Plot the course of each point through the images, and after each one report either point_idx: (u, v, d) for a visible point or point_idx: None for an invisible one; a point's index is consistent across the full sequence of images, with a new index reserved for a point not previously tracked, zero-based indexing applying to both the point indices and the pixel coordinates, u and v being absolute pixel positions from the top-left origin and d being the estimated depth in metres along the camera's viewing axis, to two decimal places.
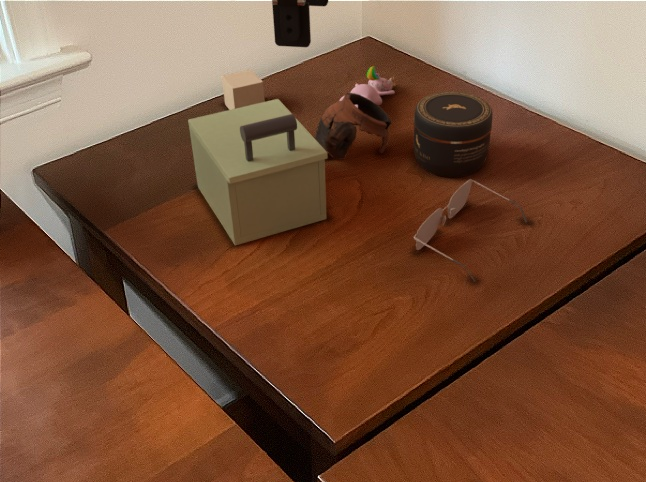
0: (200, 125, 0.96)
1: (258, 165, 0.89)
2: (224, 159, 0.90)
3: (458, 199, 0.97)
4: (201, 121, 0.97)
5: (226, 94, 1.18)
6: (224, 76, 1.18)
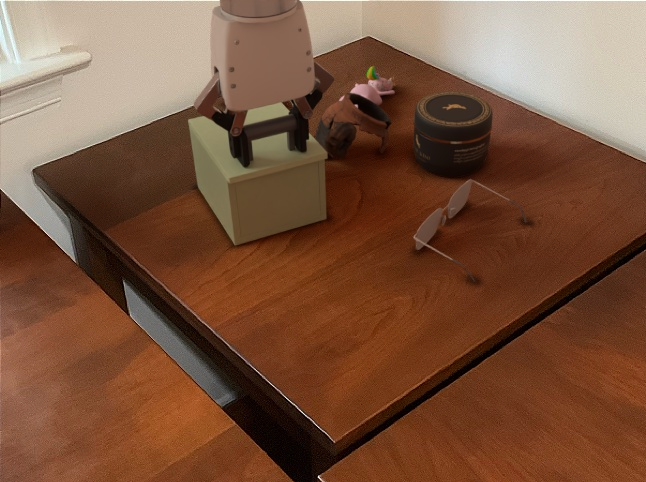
0: (200, 125, 0.96)
1: (258, 165, 0.89)
2: (224, 159, 0.90)
3: (458, 199, 0.97)
4: (201, 121, 0.97)
5: None
6: None
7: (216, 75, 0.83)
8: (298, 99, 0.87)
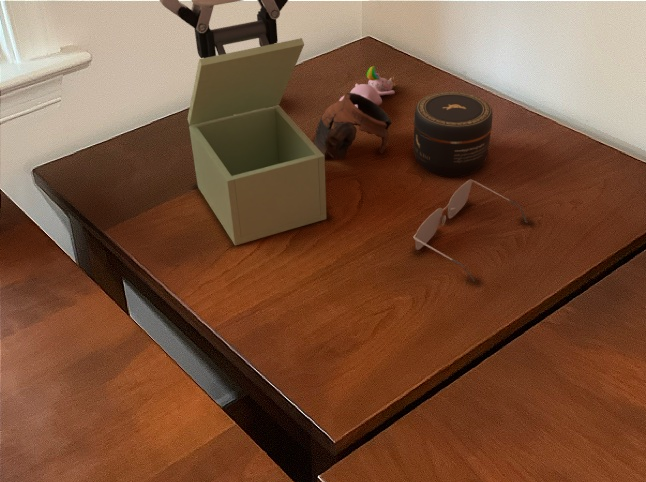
0: None
1: None
2: None
3: (458, 199, 0.97)
4: None
5: None
6: None
7: None
8: None
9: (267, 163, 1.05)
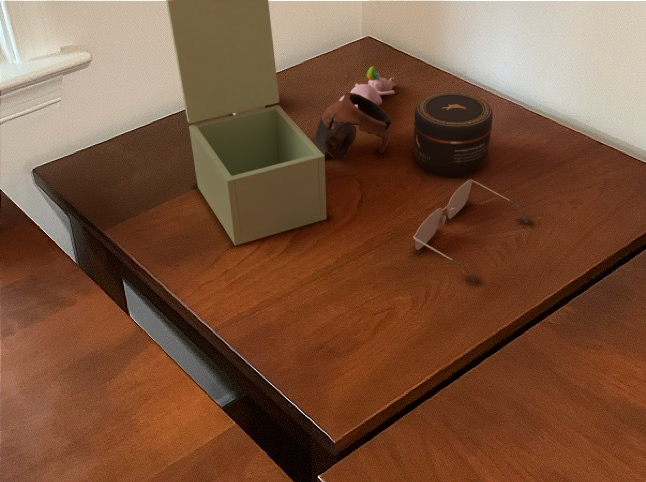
0: None
1: None
2: None
3: (458, 199, 0.97)
4: None
5: None
6: None
7: None
8: None
9: (267, 163, 1.05)
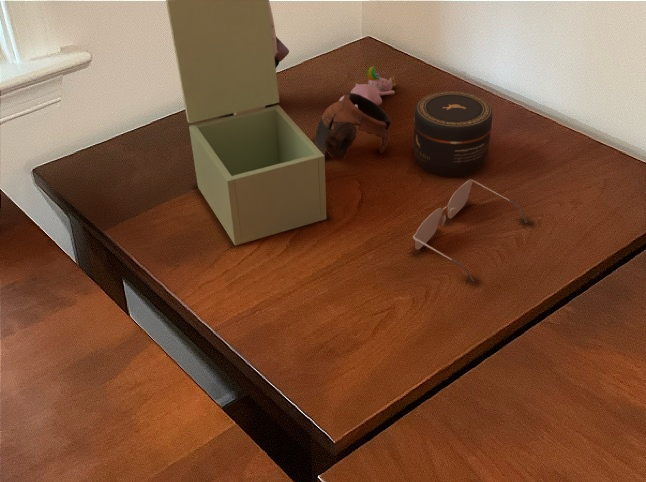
0: None
1: None
2: None
3: (458, 199, 0.97)
4: None
5: None
6: None
7: None
8: None
9: (267, 163, 1.05)
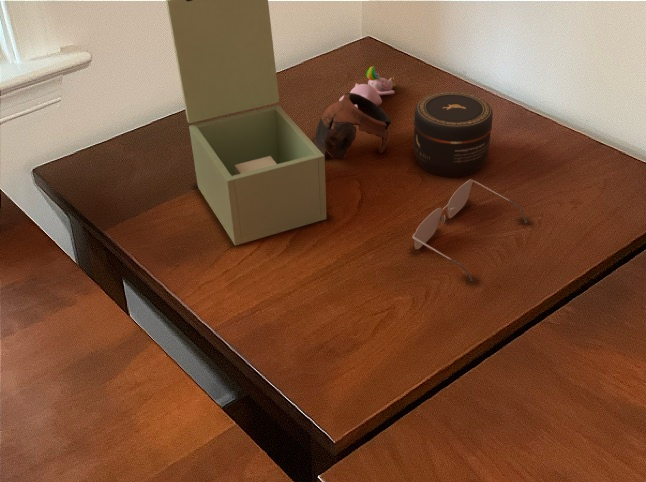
0: None
1: None
2: None
3: (458, 199, 0.97)
4: None
5: None
6: (237, 166, 0.97)
7: None
8: None
9: None
